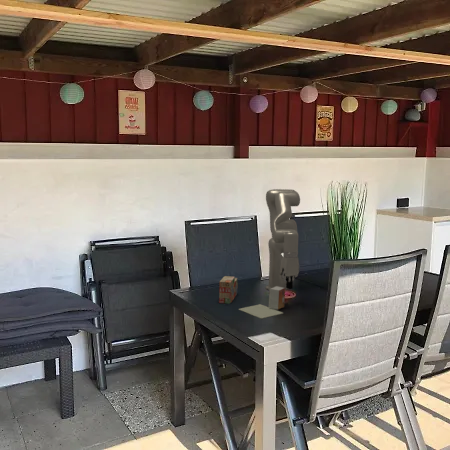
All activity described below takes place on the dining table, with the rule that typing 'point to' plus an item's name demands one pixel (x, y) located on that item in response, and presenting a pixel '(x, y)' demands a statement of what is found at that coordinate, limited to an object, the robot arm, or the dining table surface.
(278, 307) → the small box
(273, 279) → the robot arm
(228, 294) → the stack of blocks
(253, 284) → the dining table surface
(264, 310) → the mat
